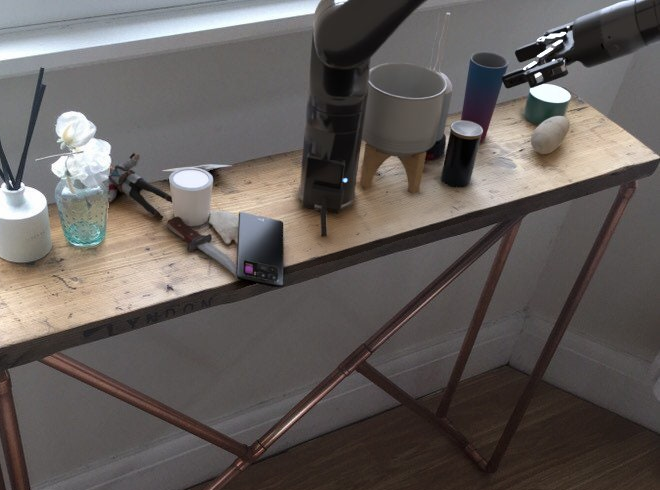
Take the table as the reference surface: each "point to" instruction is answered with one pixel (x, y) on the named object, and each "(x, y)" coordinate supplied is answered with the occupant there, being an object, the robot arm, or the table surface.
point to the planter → (401, 118)
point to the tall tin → (461, 153)
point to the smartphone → (260, 250)
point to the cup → (483, 88)
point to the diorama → (200, 167)
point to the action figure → (133, 185)
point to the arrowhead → (225, 225)
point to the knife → (199, 242)
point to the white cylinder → (191, 195)
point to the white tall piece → (441, 137)
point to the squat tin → (546, 103)
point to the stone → (550, 134)
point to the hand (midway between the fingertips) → (510, 69)
